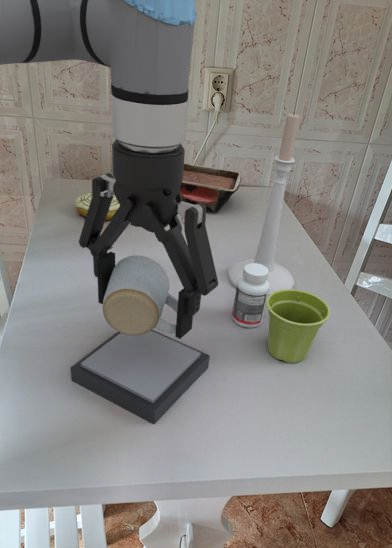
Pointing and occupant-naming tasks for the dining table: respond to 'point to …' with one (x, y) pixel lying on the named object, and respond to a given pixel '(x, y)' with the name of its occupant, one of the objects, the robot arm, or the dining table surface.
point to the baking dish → (209, 185)
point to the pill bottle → (251, 296)
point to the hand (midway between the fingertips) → (144, 315)
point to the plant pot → (294, 323)
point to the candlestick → (273, 218)
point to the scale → (141, 372)
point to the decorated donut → (84, 204)
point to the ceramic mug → (138, 297)
